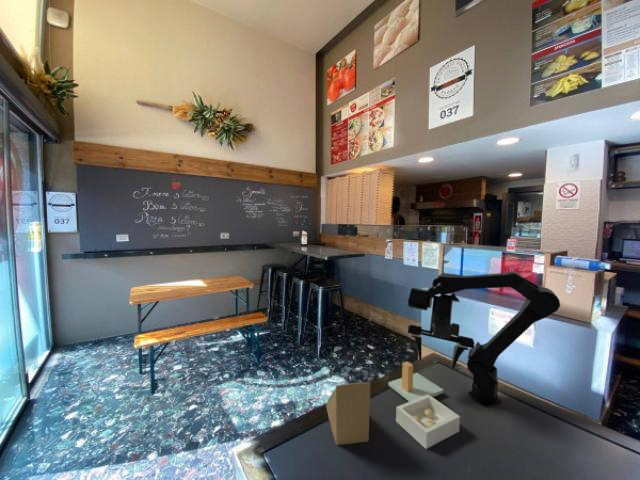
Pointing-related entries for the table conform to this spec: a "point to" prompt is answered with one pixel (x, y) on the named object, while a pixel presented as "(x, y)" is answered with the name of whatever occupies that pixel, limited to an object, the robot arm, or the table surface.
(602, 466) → the table surface
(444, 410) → the tub
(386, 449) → the table surface
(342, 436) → the sandwich container
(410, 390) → the lid
